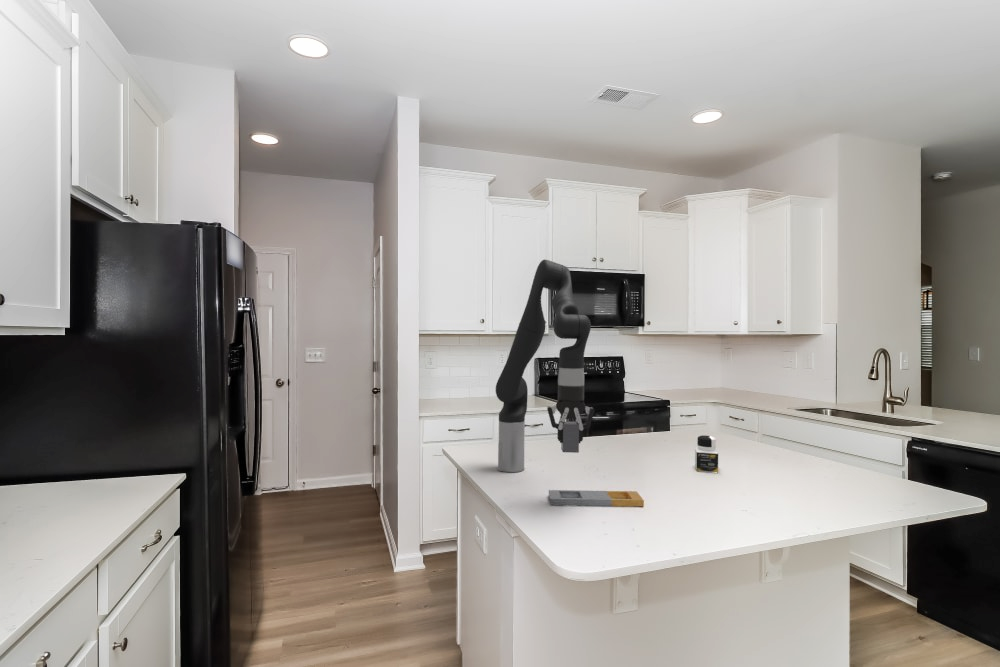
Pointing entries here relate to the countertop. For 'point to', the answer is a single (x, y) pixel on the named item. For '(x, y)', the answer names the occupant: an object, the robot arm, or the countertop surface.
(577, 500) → the rail
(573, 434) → the grey rectangular block
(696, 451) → the medicine bottle
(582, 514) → the countertop surface
